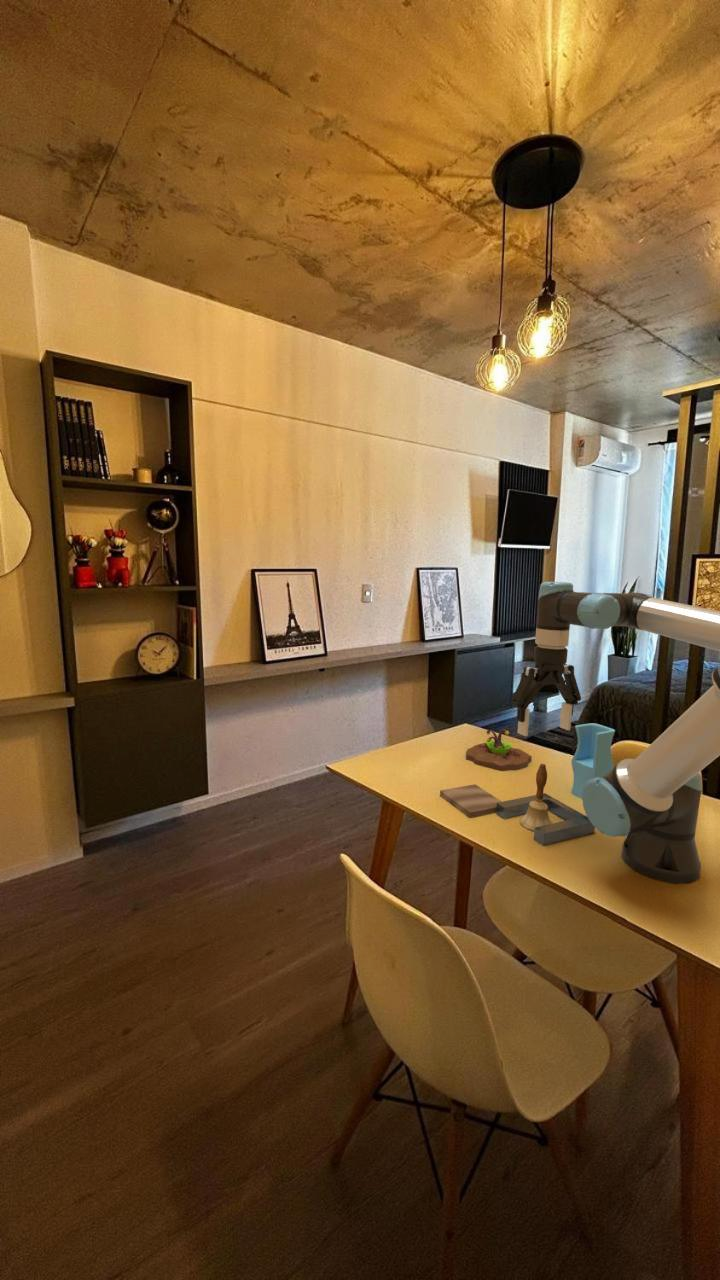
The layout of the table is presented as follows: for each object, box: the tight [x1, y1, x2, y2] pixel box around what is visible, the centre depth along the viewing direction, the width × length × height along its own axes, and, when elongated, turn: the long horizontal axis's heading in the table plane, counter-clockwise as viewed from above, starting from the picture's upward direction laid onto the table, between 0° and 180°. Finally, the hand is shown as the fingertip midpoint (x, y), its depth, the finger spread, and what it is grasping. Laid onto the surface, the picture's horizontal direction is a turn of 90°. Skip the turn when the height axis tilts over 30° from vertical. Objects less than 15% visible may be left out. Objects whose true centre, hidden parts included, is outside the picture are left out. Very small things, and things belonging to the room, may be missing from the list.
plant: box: [465, 728, 532, 772], centre depth 176 cm, size 20×20×11 cm
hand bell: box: [519, 763, 554, 832], centre depth 131 cm, size 8×8×16 cm
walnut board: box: [439, 784, 503, 819], centre depth 143 cm, size 14×12×2 cm
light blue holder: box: [570, 722, 616, 799], centre depth 149 cm, size 8×8×20 cm
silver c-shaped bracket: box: [495, 792, 596, 846], centre depth 133 cm, size 17×16×3 cm
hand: (544, 731), depth 129 cm, fingers open, 13 cm apart
